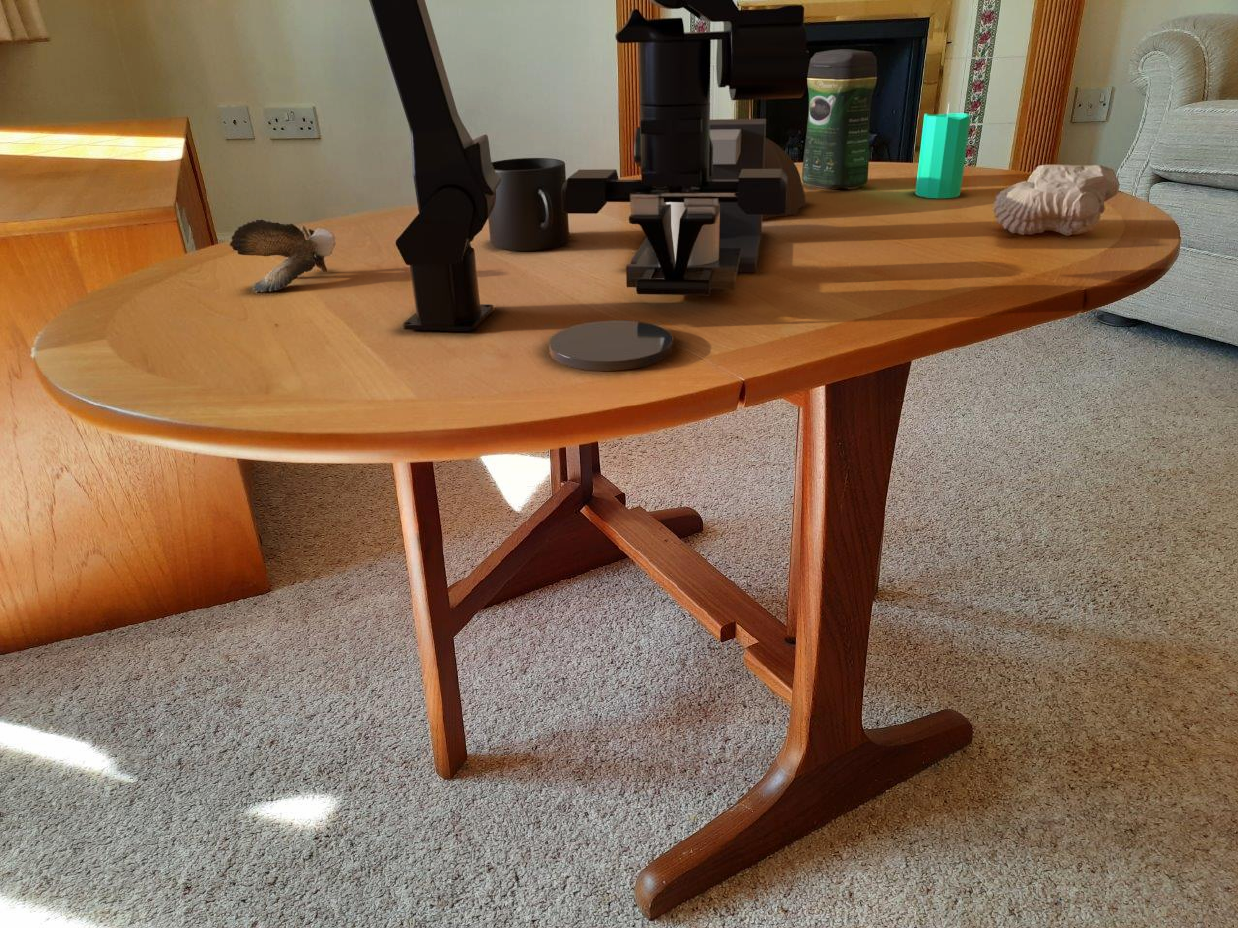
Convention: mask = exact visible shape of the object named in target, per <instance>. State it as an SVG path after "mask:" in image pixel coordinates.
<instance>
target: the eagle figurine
mask: <svg viewBox="0 0 1238 928" xmlns="http://www.w3.org/2000/svg"><path fill="white" fill-rule="evenodd" d="M230 238H231V241H230V242H229V243H228V244H229V246H230V247H231V249H232V251H235V252H236V253H237V255H240V256H257V257H271V256H280V257H284V261H282V262H280V263H279V264H277V265H276V266H275V267H274V268H271V270H270V271H269V272H267V274H266V275H265V276H264V277H263V278H261V279H260V280H258V281H257V282H255V283H254V284H253V286H252V292H254V293H265V292H269V293H270V292H271V293H272V292H274V291H278V290H281V289H283V288H285V287H287V286H288V285H290V284H292V282H293V281H295V280H296V279H297V278H298V277H299V276H301V275H303V274H304V273H308V272H311V271H312V270H313V269H314V268H315V267H316V268H319V270H321V272H323V273H328V269H327V266H326V263H325V258H326V257H329V256H331V255H332V254H333V251H334V248H335V246H336V236H335V234H334V233H333V232H332V231H330V230H329V229H327V228H325V227H318V228H316V229H315V230H313V229H311V228H308V229H306V227H305V226H304V225H302V226H301V228H299V227H298V226H296V225H295V224H293V223H279V222H271V221H270V220H269V221H266V220H264V219H255V221H254V220H251V221H250V222H246V223H244V224H242V225H241V226H238V227H237V229H236V230H234V231H233V234H232V235H231V237H230Z"/></svg>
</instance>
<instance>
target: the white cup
mask: <svg viewBox="0 0 1238 928" xmlns="http://www.w3.org/2000/svg"><path fill="white" fill-rule="evenodd" d="M666 204H671V227H672V237H673V246H674V255H675V263H676V253H677V243H678V233H679V222H680V218H681V216H682V214H683V212H684V210H685V209H686V207H684V202H667V203H666ZM719 205H720V204H719ZM719 239H720V212H719V215H718V217H717V220H716V222H715V224H711V225H703V226H702V228H701V230H700V233H699V235H698V237H697V239H696V241H695V244H694V247H693V250H692V253H691V256H690V259H689V263H688V265H705V264H709V263H713V262H715V261H717V260H718V259H719Z"/></svg>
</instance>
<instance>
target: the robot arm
mask: <svg viewBox="0 0 1238 928" xmlns="http://www.w3.org/2000/svg"><path fill="white" fill-rule="evenodd" d="M368 1H369V4H370V7H371V10H372V14H373V17H374V20H375V24H376V26H377V29H378V32H379V37H380V39H381V42H382V45H383V47H384V52H385V54H386V58H387V61H388V64H389V67H390V70H391V74H392V76H393V80H394V83H395V86H396V89H397V92H398V95H399V99H400V101H401V105H402V108H403V111H404V114H405V118H406V121H407V124H408V128H409V132H410V139H411V158H412V159H411V162H412V163H411V164H412V177H413V183H414V190H415V197H416V203H417V210H418V213H417V215H416V216H415V217H414V218H413V220H412V221H411V222H410V223H409V224H408V226H407V227H406V228H405V229H404V231H402V233H401V234H400V235H399V236H398V237H397V238H396V240H395V247H396V248H397V249H398V252H399V254H400V256H401V258H402V260H403V262H404V264H405V265H407V266H409V270H410V277H411V284H412V292H413V299H414V307H415V313H413V314H412V315H411V316H410V317H409V318H408V319H407V320H405V321H404V322H403V323H402V327H403V328H402V329H403V330H406V331H407V330H409V331H440V332H441V331H442V332H443V331H444V332H445V331H447V332H472V331H474V330H476V329H477V328H478V326H479V325H481V324H482V323H483V322H484V320H485V319H486V318H487V317H488V316H490V315H491V313H493V312H494V310H495V309H494V305H493V304H485V303H483V304H482V303H481V298H480V290H479V289H480V288H479V280H478V271H477V262H476V253H475V248H474V247H472V244H471V242H473V241H474V239H475V237H476V236H477V235H478V234H479V233H480V232H481V231H482V230H483V229H484V227H485V225H486V224H487V221H488V218H489V216H490V214H491V212H492V210H493V208H494V205H495V202H496V188H497V187H498V185H499V183H500V181H501V178H500V177H499V176H498V174H497V173H496V172H495V169H494V167H493V165H492V162H493V161H492V158H491V149H490V142H489V141H490V140H489V136H488V134H483V135H480V136H478V137H476V138H474V139H473V138H472V137H471V135H470V133H469V131H468V129H467V128H466V126H465V124H464V123H463V121H462V119H461V117H460V115H459V112H458V109H457V106H456V102H455V99H454V95H453V91H452V88H451V85H450V82H449V78H448V75H447V72H446V69H445V64H444V61H443V57H442V55H441V51H440V48H439V44H438V41H437V37H436V33H435V29H434V28H433V27H434V26H433V23H432V21H431V17H430V12H429V9H428V6H427V3H426V0H368ZM648 1H649V2H650V3H652V4H653V5H655V6H657V7H659V8H662V9H666V10H680V9H684V10H686V11H687V12H689V13H690V14H691V15H693V16H694V17H696V18H697V19H698V20H699V21H702V22H710V23H711V22H712V23H718V22H719V23H720V22H723V31H722V30H720V31H719V30H718V31H689V32H687V31H685V25H684V19H683V17H666V18H665V17H663V18H646V17H644V15H643V14H642V13H641V11H640V10H639V9H638V8H634V9H632V10H631V12H630V15H629V17H628V19H627V21H626V22H625V24H623V26H622V27H621V28H620V29H619V30H617V32H616V33H615V36H614V37H615V40H616V42H617V43H618V44H634V43H635V44H637V43H638V71H639V77H638V79H639V103H640V104H639V114H640V115H639V122H640V124H639V125H640V126H637V127H635V134H634V141H633V161H634V163H635V164H636V165H637V166H638V167H640V175H641V177H640V179H619V175H618V171H617V169H611V168H610V169H609V168H607V169H604V168H603V169H601V168H600V169H578V170H577V171H575V172H574V173H572V174H571V175H570V176H568V178H566V181H565V182H564V183H563V185H562V192H561V195H562V212H564V213H567V214H568V215H569V214H573V215H574V214H577V215H578V214H579V215H582V214H583V215H590V214H592V215H594V214H595V215H596V214H598V213H600V212H601V210H602V209H603V208H604V207H605V205H607V204H608V203H629V207H630V214H629V216H628V222H629V224H631V225H639V226H640V228H641V229H642V231H643V233H644V235H645V238H646V237H647V239H648V240H649V242H650V244H651V246H652V248H653V249H654V251H655V254H656V256H657V258H658V261H659V264H660V266H661V269H662V271H663V274H664V276H665V278H675V279H684V276H685V272H686V269H687V266H688V263H689V259H690V256H691V253H692V250H693V247H694V244H695V241H696V239H697V237H698V235H699V233H700V230H701V228H702V226H703V225H711V224H715V222H716V220H717V217H718V215H719V212H720V205H719V204H720V202H737V205H738V206H739V207H740V208H741V209H742V210H743V211H744V212H745V213H746V214H763V215H779V214H784V213H785V212H786V197H787V178H788V176H787V175H786V174H785V172H784V171H783V170H782V169H742V170H741V173H740V175H739V179H710V176H712V174H713V144H712V141H711V138H710V120H711V64H712V63H711V62H712V61H711V60H712V56H711V54H712V53H711V52H712V41H716V58H715V59H716V60H715V61H716V62H715V63H716V65H715V66H716V67H715V68H716V71H715V72H716V84H717V87H718V88H719V89H720V88H726V87H728V91H729V97H730V100H731V101H754V100H755V101H756V100H758V101H759V100H785V99H787V100H788V99H801V98H802V97H803V95H804V94H805V91H806V87H807V78H808V70H809V64H810V51H809V50H808V42H807V29H806V25H805V22H804V21H805V20H804V19H805V7H804V5H802V4H790V5H781V6H777V7H775V8H755V9H739V7H738V6H737V4H736V2H735V1H734V0H648ZM654 190H655V191H654ZM658 190H660V191H658ZM663 190H664V191H663ZM667 190H668V191H667ZM686 190H687V191H686ZM667 202H684V207H686V209H685V210H684V212H683V214H682V216H681V218H680V222H679V233H678V243H677V253H676V263H675V255H674V246H673V237H672V227H671V204H666V203H667Z"/></svg>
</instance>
